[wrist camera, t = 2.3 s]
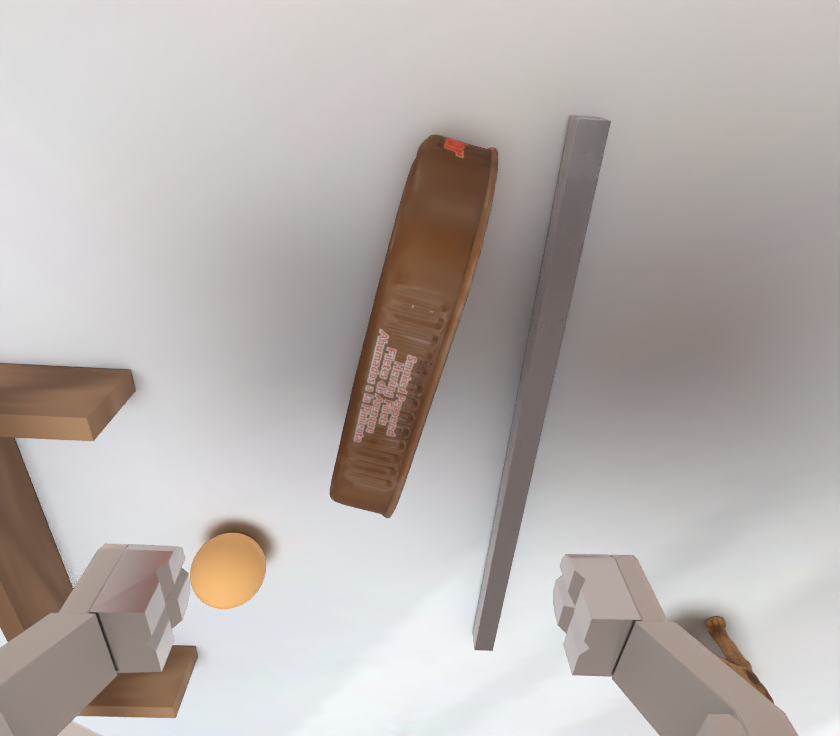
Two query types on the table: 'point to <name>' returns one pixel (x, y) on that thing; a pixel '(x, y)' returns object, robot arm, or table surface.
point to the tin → (413, 319)
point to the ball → (228, 570)
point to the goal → (30, 535)
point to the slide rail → (541, 357)
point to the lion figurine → (733, 654)
